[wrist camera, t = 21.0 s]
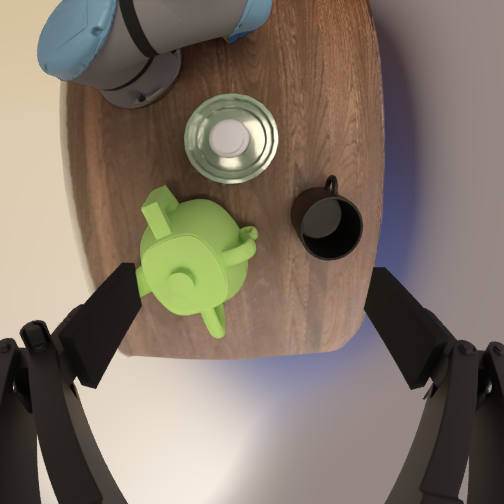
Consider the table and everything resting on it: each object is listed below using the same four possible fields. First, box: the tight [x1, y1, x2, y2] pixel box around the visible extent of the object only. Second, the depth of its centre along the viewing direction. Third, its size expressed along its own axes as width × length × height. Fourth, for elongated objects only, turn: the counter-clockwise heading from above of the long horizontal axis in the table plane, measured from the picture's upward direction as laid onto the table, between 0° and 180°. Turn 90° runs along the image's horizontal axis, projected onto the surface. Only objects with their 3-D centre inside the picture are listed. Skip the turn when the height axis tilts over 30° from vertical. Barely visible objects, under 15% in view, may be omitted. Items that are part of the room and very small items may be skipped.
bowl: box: [184, 93, 278, 184], centre depth 38 cm, size 13×13×6 cm
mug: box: [291, 175, 363, 260], centre depth 40 cm, size 9×12×9 cm
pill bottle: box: [209, 119, 250, 158], centre depth 35 cm, size 5×5×10 cm
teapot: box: [136, 185, 258, 338], centre depth 40 cm, size 19×20×14 cm
